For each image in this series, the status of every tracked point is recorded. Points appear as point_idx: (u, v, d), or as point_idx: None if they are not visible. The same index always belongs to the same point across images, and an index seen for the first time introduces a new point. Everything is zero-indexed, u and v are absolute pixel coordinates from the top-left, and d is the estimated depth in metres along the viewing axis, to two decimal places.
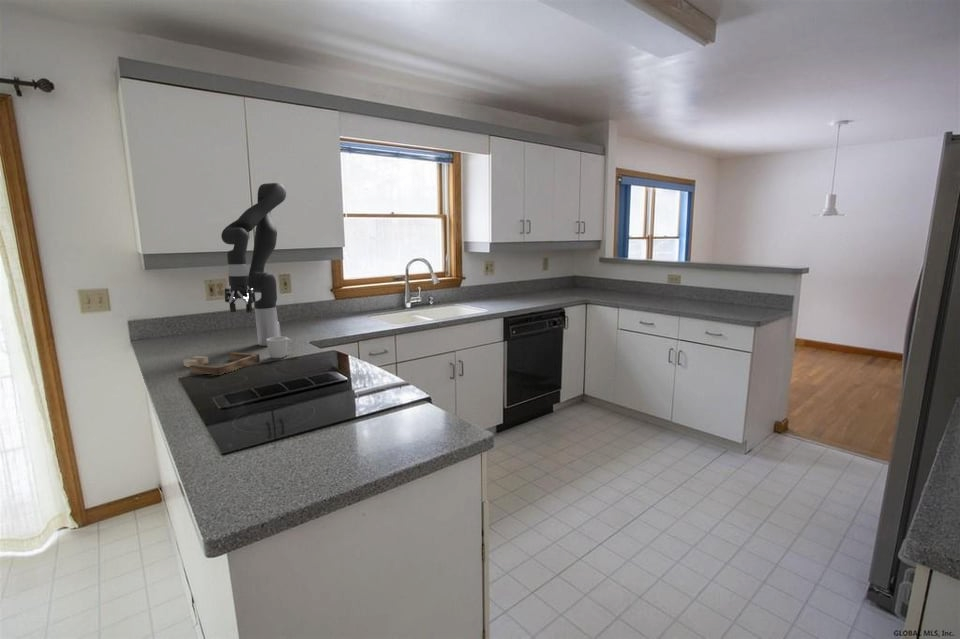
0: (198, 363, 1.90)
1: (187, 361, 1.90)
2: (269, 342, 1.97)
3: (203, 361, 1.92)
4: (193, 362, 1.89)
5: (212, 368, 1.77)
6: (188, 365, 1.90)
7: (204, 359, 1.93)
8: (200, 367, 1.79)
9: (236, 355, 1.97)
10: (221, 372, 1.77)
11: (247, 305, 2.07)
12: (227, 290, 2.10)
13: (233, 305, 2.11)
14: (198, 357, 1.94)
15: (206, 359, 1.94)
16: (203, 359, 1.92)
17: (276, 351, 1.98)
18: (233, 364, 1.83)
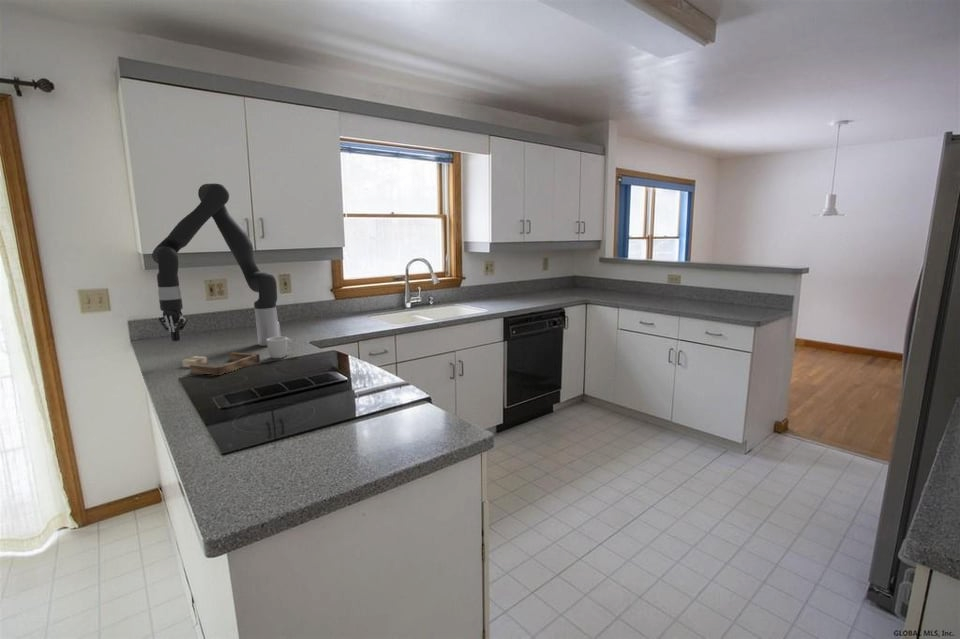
0: (197, 363, 1.90)
1: (186, 361, 1.90)
2: (269, 342, 1.97)
3: (202, 361, 1.92)
4: (192, 362, 1.89)
5: (212, 368, 1.77)
6: (187, 365, 1.90)
7: (203, 359, 1.93)
8: (200, 367, 1.79)
9: (236, 355, 1.97)
10: (221, 372, 1.77)
11: (174, 333, 1.92)
12: (161, 318, 1.93)
13: None
14: (197, 357, 1.94)
15: (205, 359, 1.94)
16: (202, 359, 1.92)
17: (276, 351, 1.98)
18: (233, 364, 1.83)
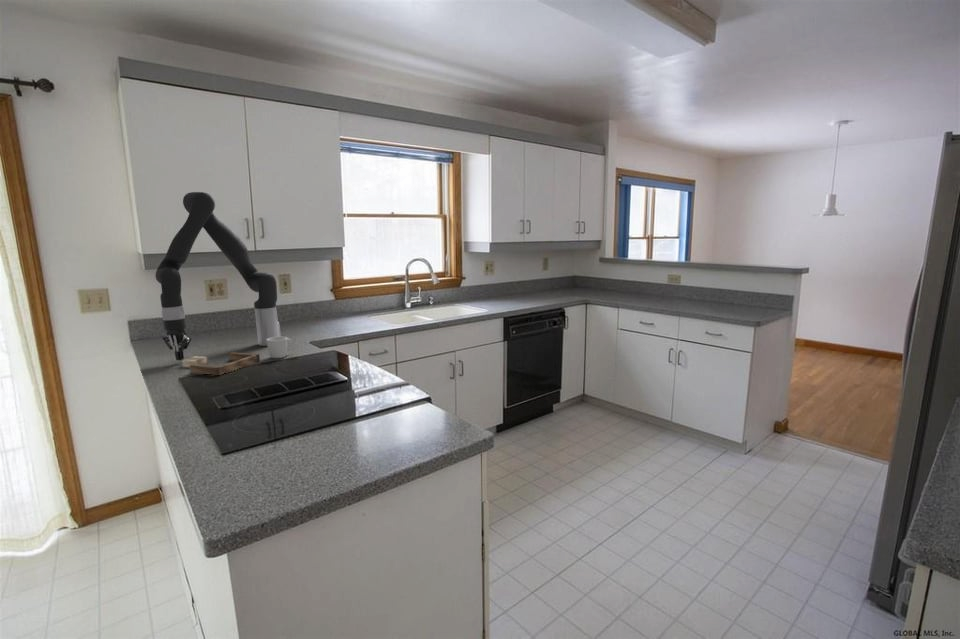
0: (197, 363, 1.90)
1: (186, 361, 1.90)
2: (269, 342, 1.97)
3: (202, 361, 1.92)
4: (192, 362, 1.89)
5: (212, 368, 1.77)
6: (187, 365, 1.90)
7: (203, 359, 1.93)
8: (200, 367, 1.79)
9: (236, 355, 1.97)
10: (221, 372, 1.77)
11: (178, 352, 1.94)
12: (165, 338, 1.94)
13: None
14: (197, 357, 1.94)
15: (205, 359, 1.94)
16: (202, 359, 1.92)
17: (276, 351, 1.98)
18: (233, 364, 1.83)
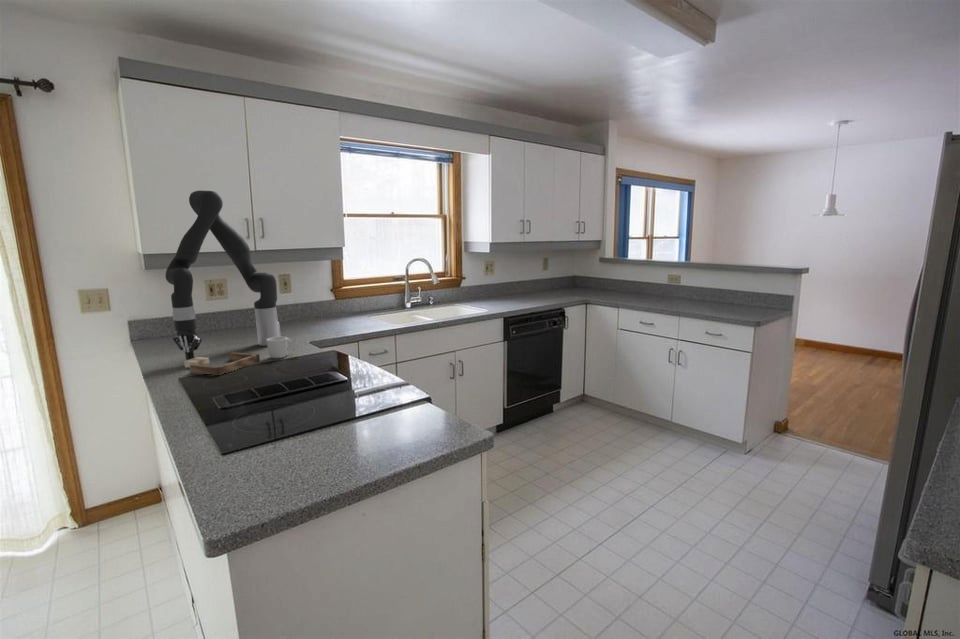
0: (199, 364, 1.89)
1: (188, 362, 1.89)
2: (269, 342, 1.97)
3: (204, 362, 1.91)
4: (194, 363, 1.88)
5: (212, 368, 1.77)
6: (189, 366, 1.89)
7: (205, 360, 1.91)
8: (200, 367, 1.79)
9: (236, 355, 1.97)
10: (221, 372, 1.77)
11: (188, 353, 1.92)
12: (176, 338, 1.93)
13: None
14: (199, 358, 1.92)
15: (207, 360, 1.92)
16: (204, 360, 1.91)
17: (276, 351, 1.98)
18: (233, 364, 1.83)
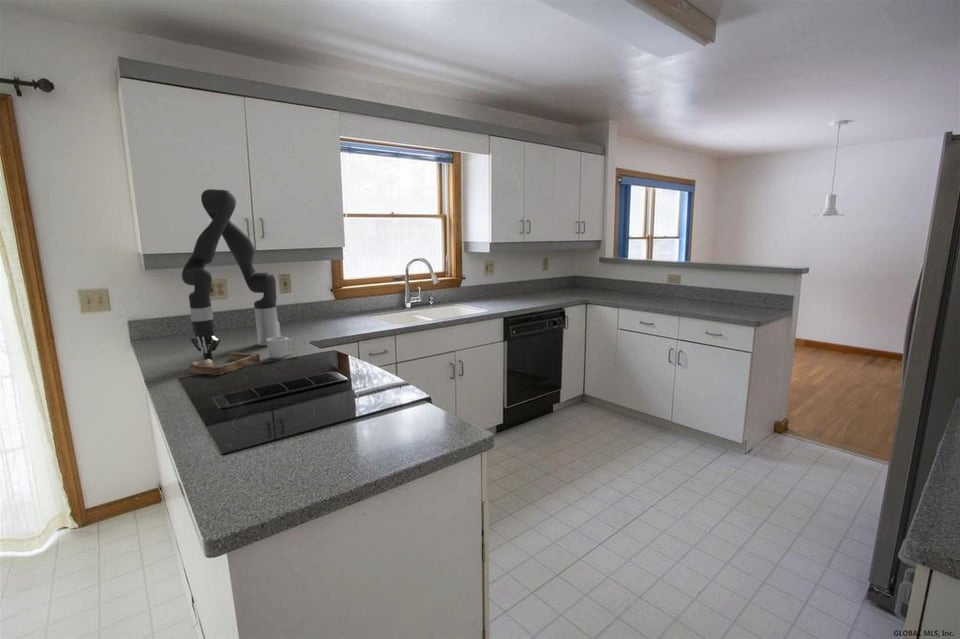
0: None
1: (193, 364, 1.85)
2: (269, 342, 1.97)
3: None
4: None
5: (212, 368, 1.77)
6: None
7: (208, 364, 1.84)
8: (200, 367, 1.79)
9: (236, 355, 1.97)
10: (221, 372, 1.77)
11: (206, 354, 1.89)
12: (193, 339, 1.90)
13: None
14: (206, 361, 1.87)
15: (211, 364, 1.85)
16: (206, 364, 1.84)
17: (276, 351, 1.98)
18: (233, 364, 1.83)
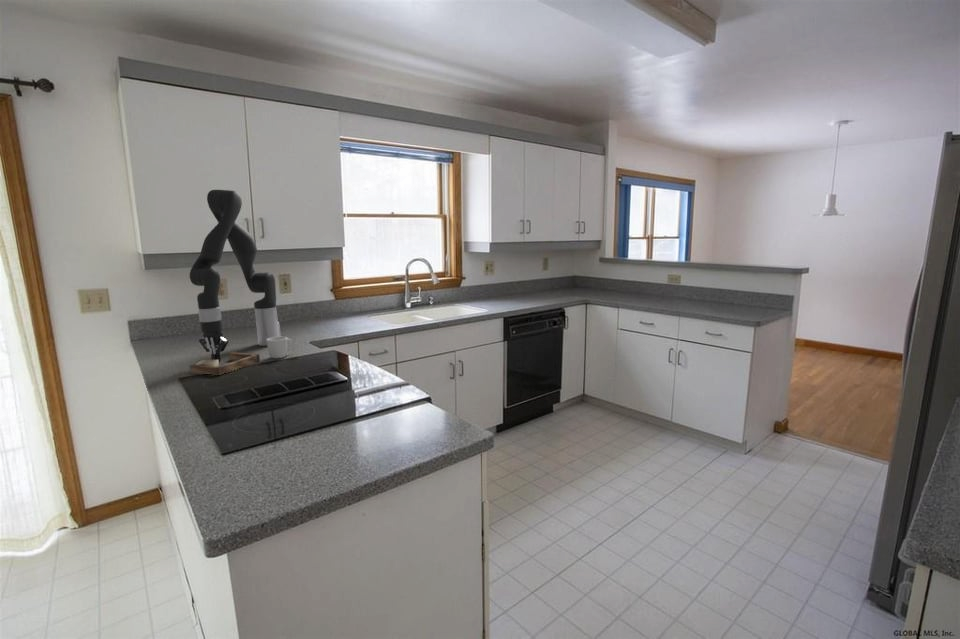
0: None
1: None
2: (269, 342, 1.97)
3: None
4: None
5: (212, 368, 1.77)
6: None
7: (208, 365, 1.83)
8: (200, 367, 1.79)
9: (236, 355, 1.97)
10: (221, 372, 1.77)
11: (215, 355, 1.88)
12: (202, 340, 1.89)
13: None
14: (211, 361, 1.85)
15: (211, 365, 1.83)
16: (207, 365, 1.82)
17: (276, 351, 1.98)
18: (233, 364, 1.83)
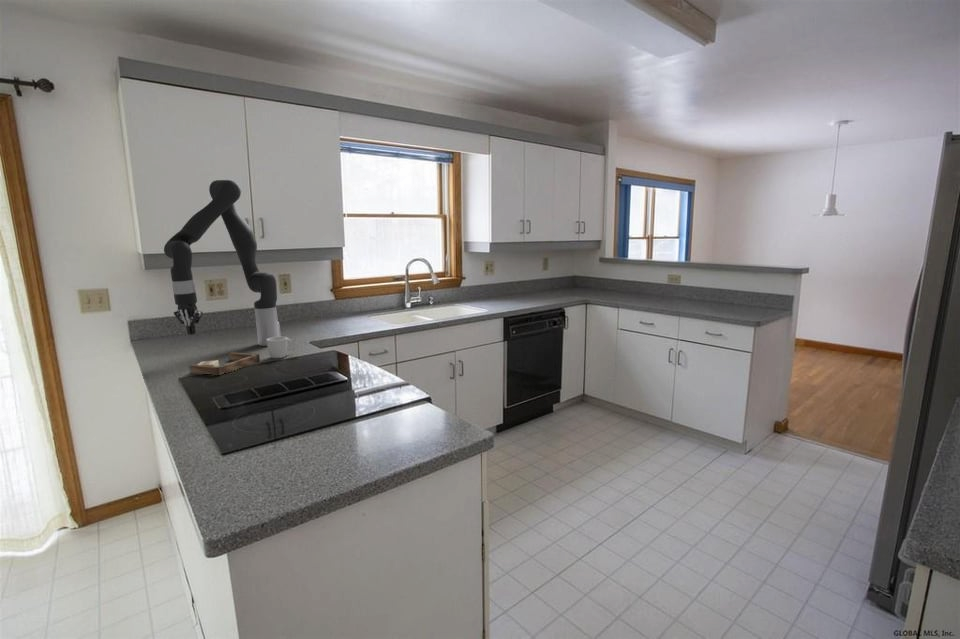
0: None
1: None
2: (269, 342, 1.97)
3: None
4: None
5: (212, 368, 1.77)
6: None
7: None
8: (200, 367, 1.79)
9: (236, 355, 1.97)
10: (221, 372, 1.77)
11: (189, 327, 1.93)
12: (176, 312, 1.94)
13: None
14: (211, 362, 1.85)
15: None
16: None
17: (276, 351, 1.98)
18: (233, 364, 1.83)
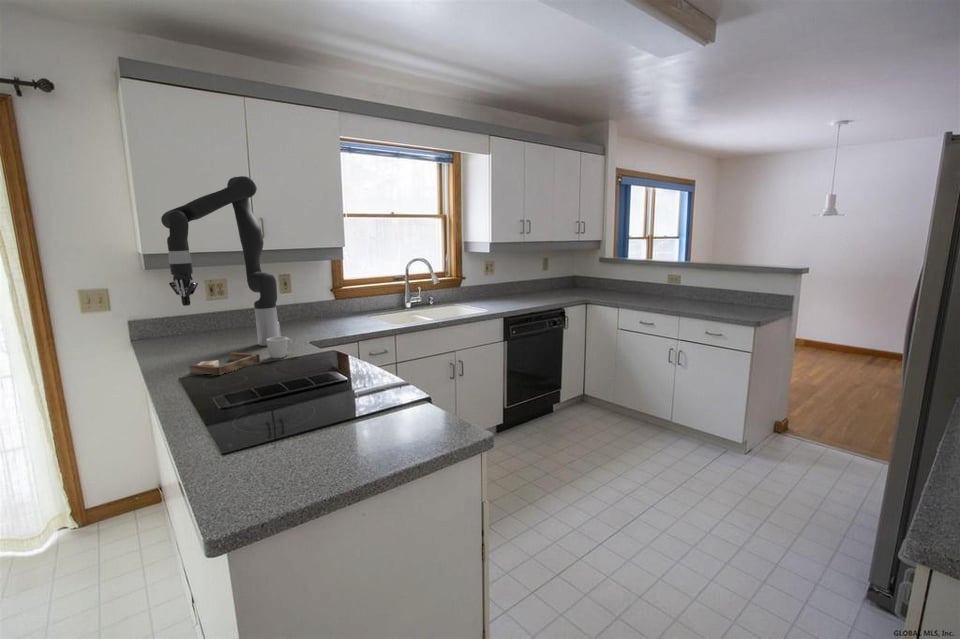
0: None
1: None
2: (269, 342, 1.97)
3: None
4: None
5: (212, 368, 1.77)
6: None
7: None
8: (200, 367, 1.79)
9: (236, 355, 1.97)
10: (221, 372, 1.77)
11: (184, 297, 1.94)
12: (172, 283, 1.95)
13: None
14: (211, 362, 1.85)
15: None
16: None
17: (276, 351, 1.98)
18: (233, 364, 1.83)
